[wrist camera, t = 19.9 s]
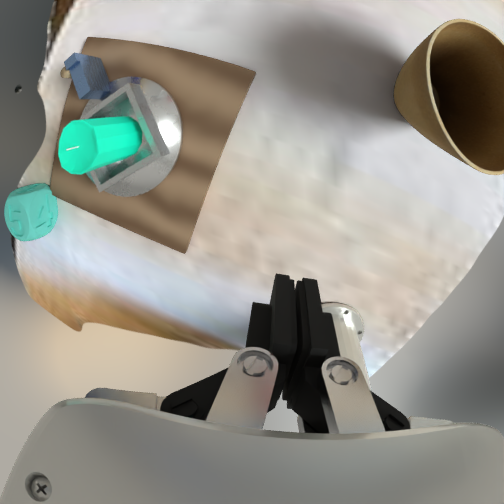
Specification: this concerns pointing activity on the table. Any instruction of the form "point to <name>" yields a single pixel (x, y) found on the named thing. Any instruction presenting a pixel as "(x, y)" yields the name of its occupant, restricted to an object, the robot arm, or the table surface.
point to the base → (193, 146)
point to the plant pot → (457, 93)
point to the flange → (139, 108)
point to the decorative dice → (31, 212)
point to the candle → (98, 142)
